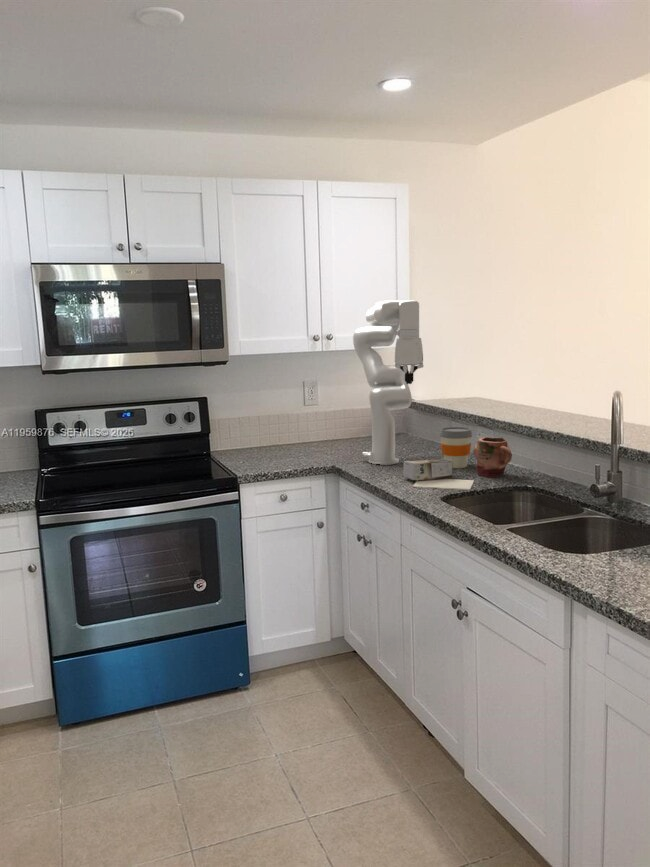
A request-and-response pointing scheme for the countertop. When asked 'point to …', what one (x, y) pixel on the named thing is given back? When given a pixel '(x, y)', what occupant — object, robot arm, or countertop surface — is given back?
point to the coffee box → (428, 469)
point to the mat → (445, 484)
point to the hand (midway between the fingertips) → (409, 383)
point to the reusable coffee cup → (456, 445)
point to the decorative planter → (491, 456)
